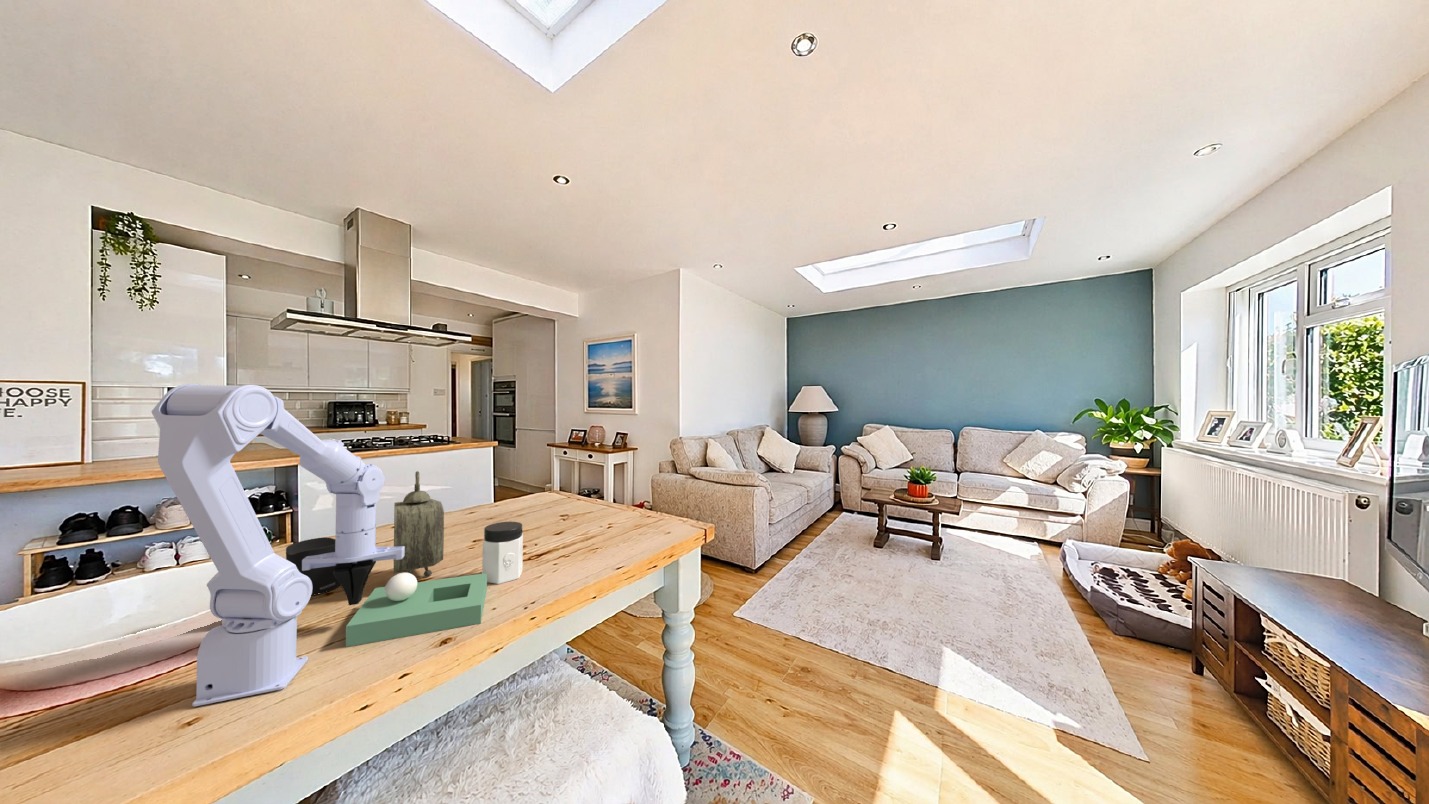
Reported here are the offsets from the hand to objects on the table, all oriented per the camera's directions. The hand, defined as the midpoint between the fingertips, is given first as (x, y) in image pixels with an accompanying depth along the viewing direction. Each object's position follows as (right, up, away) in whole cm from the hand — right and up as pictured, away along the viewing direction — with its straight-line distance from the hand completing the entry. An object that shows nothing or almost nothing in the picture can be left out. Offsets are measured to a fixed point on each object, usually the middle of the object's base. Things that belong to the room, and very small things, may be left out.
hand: (355, 602), depth 79 cm
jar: (+16, -5, +23) cm, 28 cm away
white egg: (+6, +2, +3) cm, 7 cm away
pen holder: (-21, -4, +15) cm, 26 cm away
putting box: (+10, -4, +4) cm, 12 cm away
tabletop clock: (-3, -4, +21) cm, 21 cm away
